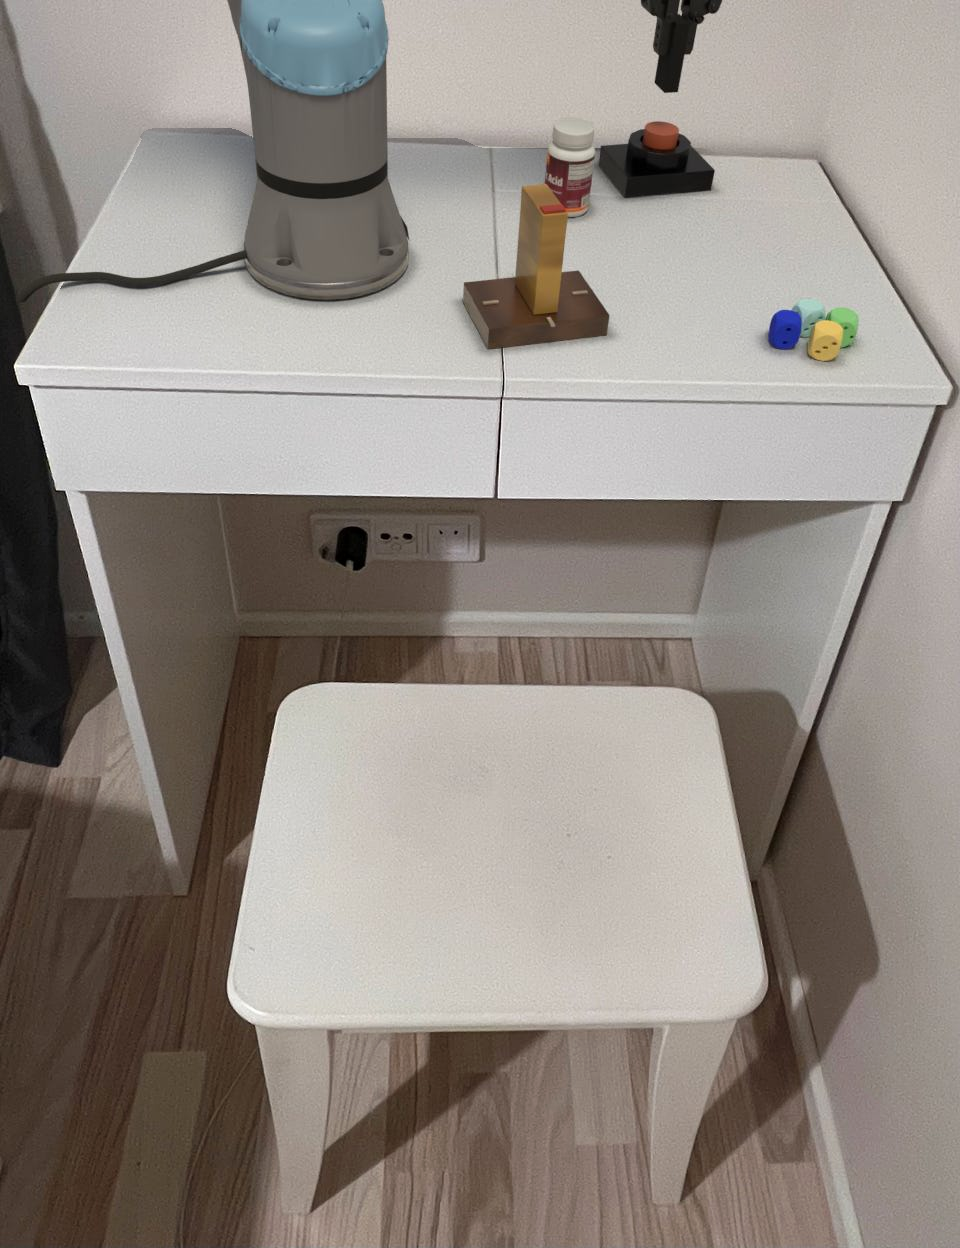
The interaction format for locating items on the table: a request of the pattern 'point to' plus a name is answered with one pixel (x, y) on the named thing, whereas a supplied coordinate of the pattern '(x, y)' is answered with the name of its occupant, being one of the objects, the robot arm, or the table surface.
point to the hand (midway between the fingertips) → (666, 87)
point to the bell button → (660, 135)
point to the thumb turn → (540, 248)
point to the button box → (655, 168)
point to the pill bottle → (571, 164)
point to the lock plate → (514, 323)
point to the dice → (814, 328)
